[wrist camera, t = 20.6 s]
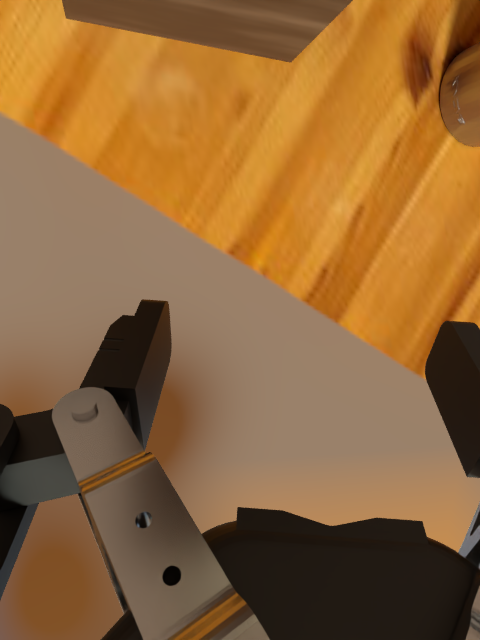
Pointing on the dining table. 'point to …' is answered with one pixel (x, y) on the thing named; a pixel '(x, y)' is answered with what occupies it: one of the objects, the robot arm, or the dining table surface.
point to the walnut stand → (218, 21)
